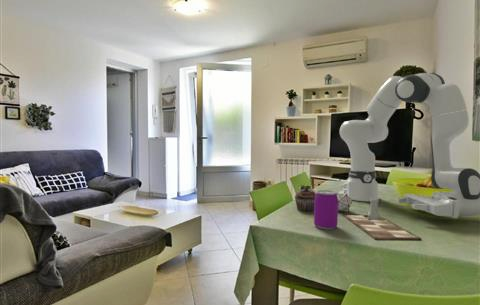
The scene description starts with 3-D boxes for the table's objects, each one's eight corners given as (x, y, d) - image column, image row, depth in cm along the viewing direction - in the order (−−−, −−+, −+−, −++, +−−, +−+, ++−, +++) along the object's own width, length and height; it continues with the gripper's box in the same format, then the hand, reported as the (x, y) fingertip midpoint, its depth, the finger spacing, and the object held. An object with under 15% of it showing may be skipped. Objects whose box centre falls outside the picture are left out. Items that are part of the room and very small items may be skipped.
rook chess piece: (364, 217, 112) (365, 196, 111) (376, 217, 112) (376, 196, 112) (371, 221, 107) (371, 199, 107) (382, 220, 108) (383, 199, 107)
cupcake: (320, 212, 118) (321, 188, 118) (296, 212, 119) (297, 187, 118) (315, 206, 128) (315, 184, 127) (293, 206, 128) (293, 183, 128)
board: (343, 215, 113) (343, 214, 113) (378, 216, 114) (378, 215, 114) (375, 239, 87) (375, 238, 87) (421, 240, 88) (421, 238, 88)
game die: (346, 221, 119) (357, 205, 113) (326, 212, 121) (335, 196, 114) (347, 206, 126) (358, 190, 120) (328, 198, 127) (338, 182, 121)
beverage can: (313, 228, 97) (314, 193, 96) (314, 222, 104) (315, 189, 104) (337, 231, 95) (339, 194, 94) (336, 224, 102) (337, 190, 102)
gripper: (424, 190, 120) (390, 190, 120) (462, 201, 99) (422, 201, 99) (423, 205, 120) (390, 205, 120) (461, 219, 100) (421, 219, 100)
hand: (405, 203), depth 109 cm, fingers open, 8 cm apart
